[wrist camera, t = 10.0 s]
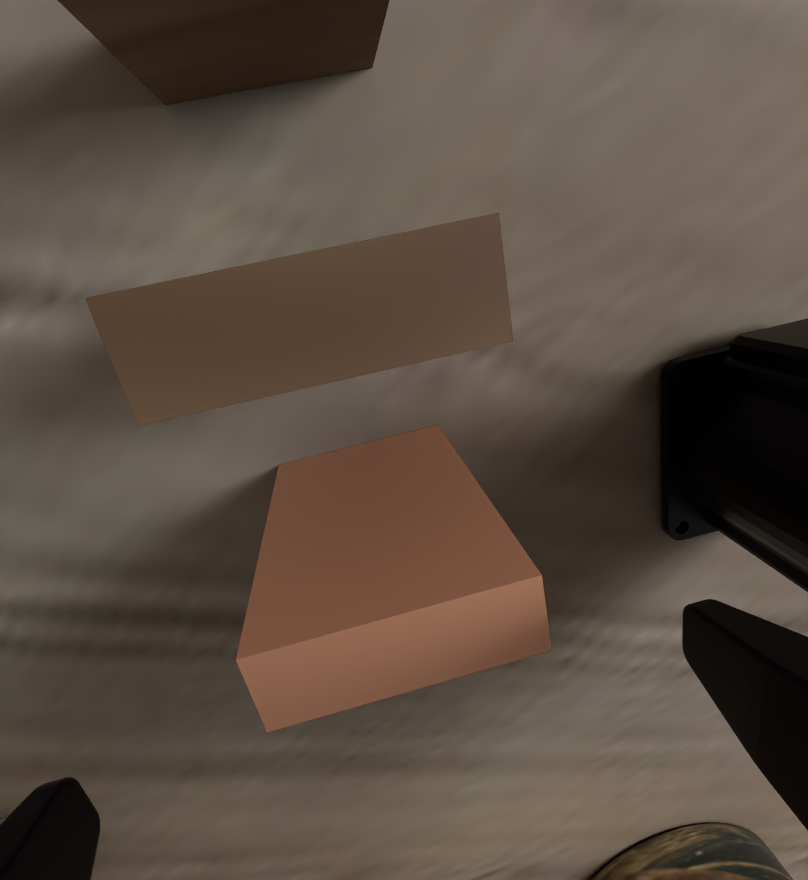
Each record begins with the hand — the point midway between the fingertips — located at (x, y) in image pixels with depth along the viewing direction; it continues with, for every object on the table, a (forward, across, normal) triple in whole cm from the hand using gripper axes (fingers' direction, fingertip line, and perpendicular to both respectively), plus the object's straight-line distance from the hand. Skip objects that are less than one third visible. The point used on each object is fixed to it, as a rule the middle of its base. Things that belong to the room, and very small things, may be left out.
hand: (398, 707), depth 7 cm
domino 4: (+9, 0, -6) cm, 11 cm away
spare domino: (+9, 0, 0) cm, 9 cm away
